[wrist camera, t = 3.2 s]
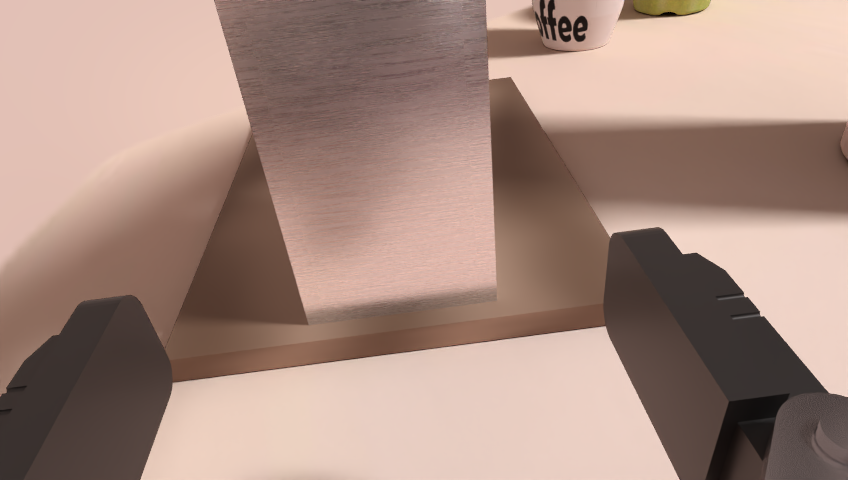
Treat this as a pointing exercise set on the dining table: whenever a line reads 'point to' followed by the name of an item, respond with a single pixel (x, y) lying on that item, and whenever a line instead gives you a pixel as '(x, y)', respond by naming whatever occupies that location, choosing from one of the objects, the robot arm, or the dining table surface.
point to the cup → (576, 22)
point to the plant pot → (670, 6)
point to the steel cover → (373, 147)
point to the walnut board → (307, 344)
